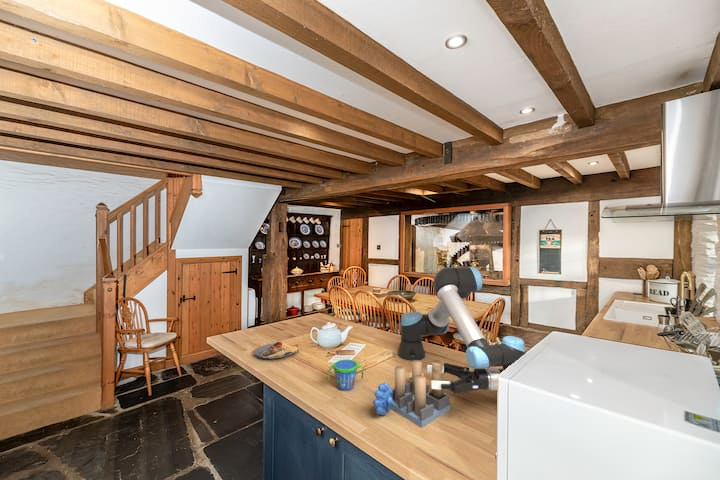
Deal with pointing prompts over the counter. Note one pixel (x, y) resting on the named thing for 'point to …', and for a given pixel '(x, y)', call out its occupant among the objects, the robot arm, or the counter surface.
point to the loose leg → (437, 378)
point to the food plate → (273, 351)
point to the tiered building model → (411, 376)
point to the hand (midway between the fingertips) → (429, 376)
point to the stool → (417, 397)
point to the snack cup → (345, 373)
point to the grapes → (383, 399)
